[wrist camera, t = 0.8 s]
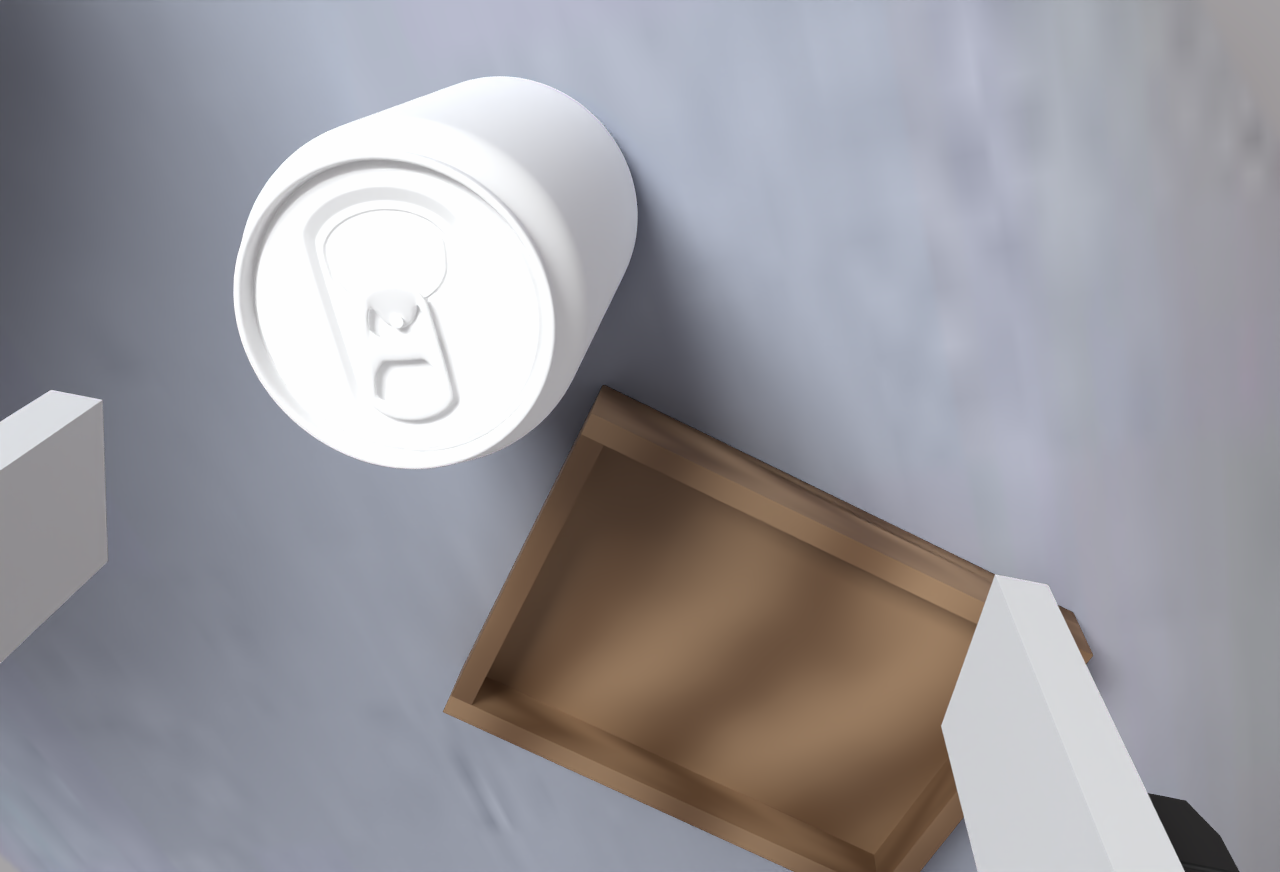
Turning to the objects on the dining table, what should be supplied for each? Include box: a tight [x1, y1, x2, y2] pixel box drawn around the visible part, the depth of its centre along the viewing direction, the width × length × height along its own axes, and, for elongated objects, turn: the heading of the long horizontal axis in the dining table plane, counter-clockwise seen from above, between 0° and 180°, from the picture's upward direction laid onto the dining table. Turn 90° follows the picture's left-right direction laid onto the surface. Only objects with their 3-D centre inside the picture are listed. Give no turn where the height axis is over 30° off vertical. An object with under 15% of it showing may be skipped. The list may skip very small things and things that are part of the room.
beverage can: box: [233, 76, 638, 469], centre depth 29 cm, size 8×8×12 cm
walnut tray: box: [443, 385, 1093, 872], centre depth 39 cm, size 18×13×3 cm
